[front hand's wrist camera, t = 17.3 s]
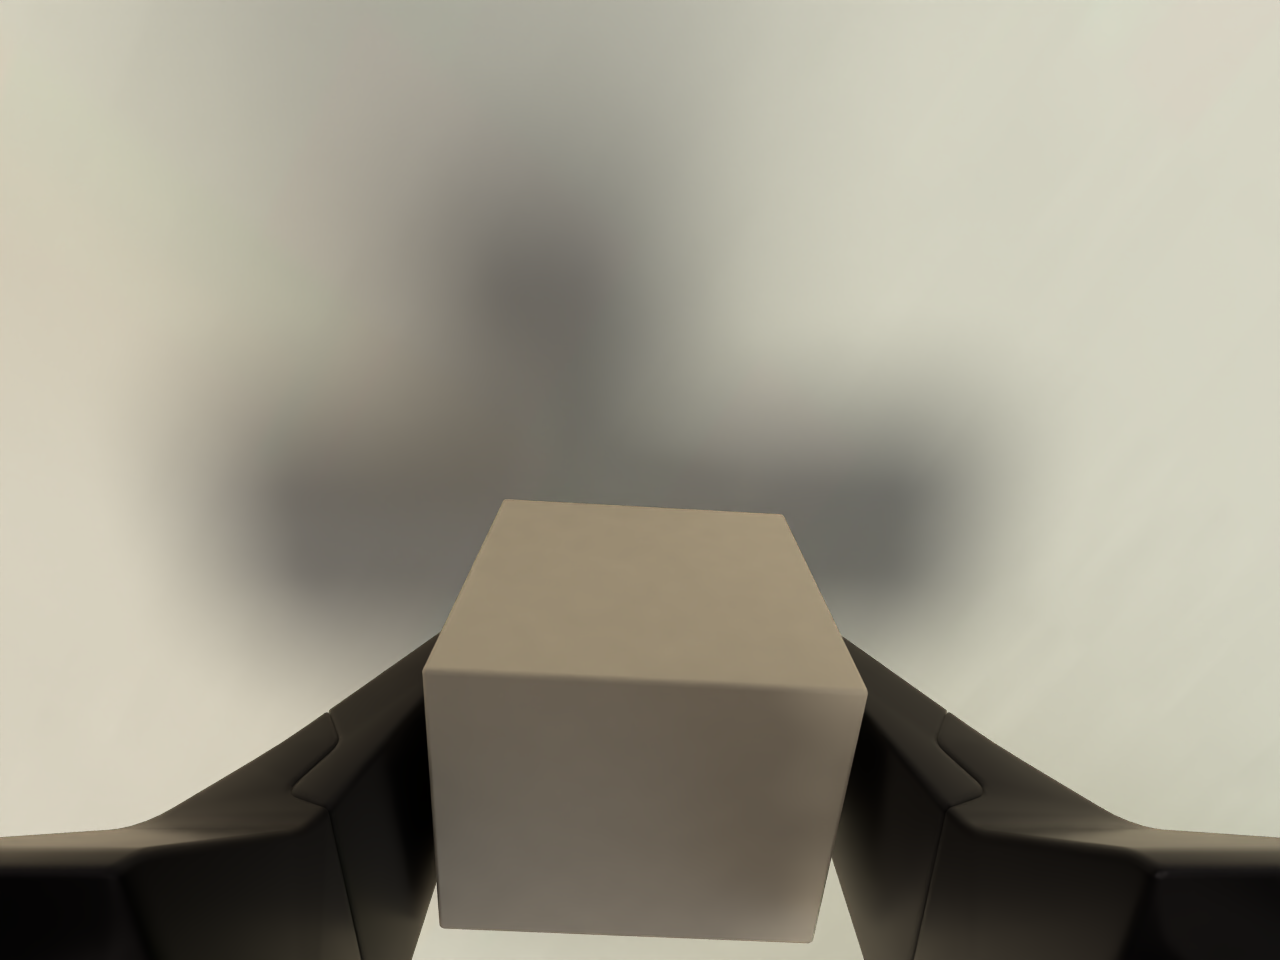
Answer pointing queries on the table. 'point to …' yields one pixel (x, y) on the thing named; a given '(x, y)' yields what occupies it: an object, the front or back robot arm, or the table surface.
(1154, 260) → the table surface
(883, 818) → the front robot arm
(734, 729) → the beige cube block
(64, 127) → the table surface
